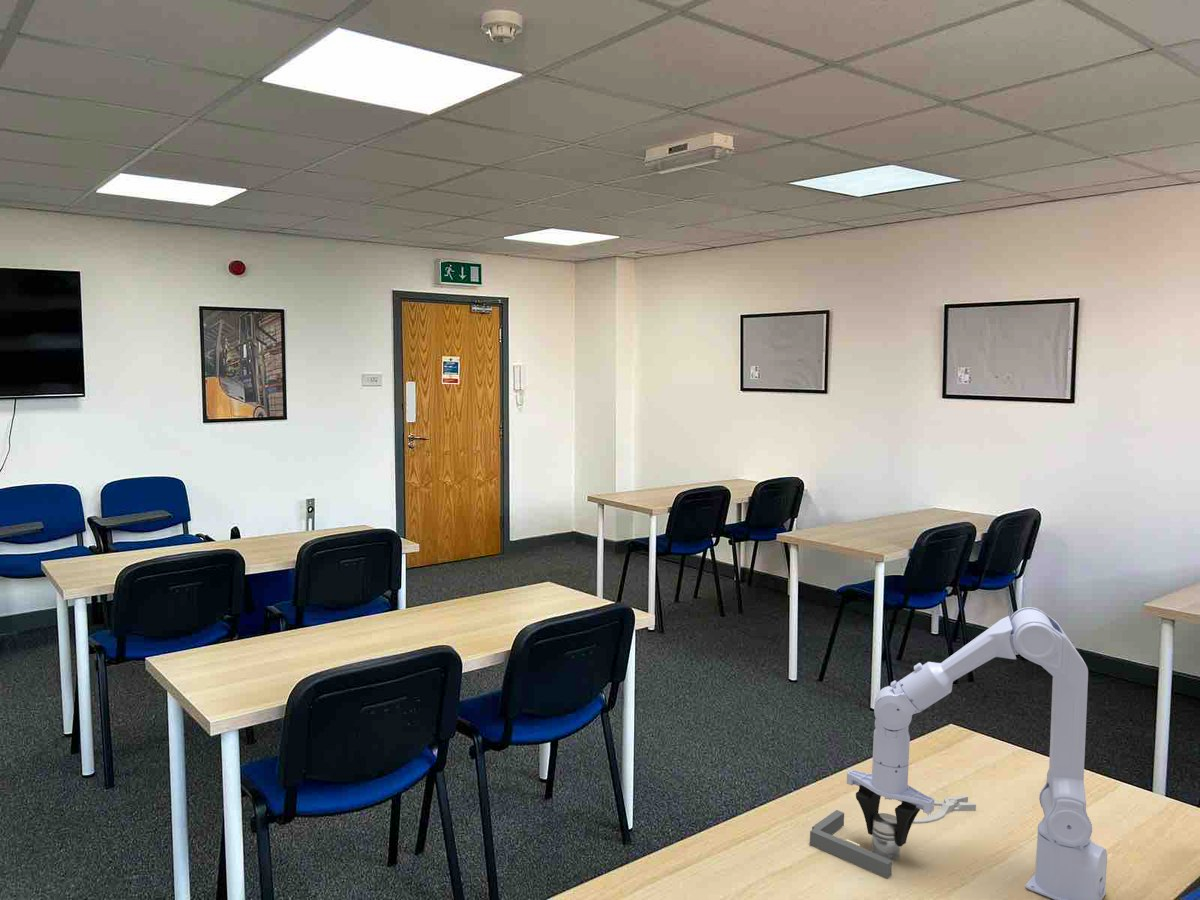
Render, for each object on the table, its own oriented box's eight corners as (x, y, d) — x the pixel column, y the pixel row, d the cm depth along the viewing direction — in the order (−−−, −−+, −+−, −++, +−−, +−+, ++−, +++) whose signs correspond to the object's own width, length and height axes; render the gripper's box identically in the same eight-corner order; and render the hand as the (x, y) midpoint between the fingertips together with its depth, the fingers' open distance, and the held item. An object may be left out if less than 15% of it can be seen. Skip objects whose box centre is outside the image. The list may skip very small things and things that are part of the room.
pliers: (884, 791, 163) (956, 787, 165) (883, 799, 163) (956, 795, 165) (910, 817, 153) (987, 812, 155) (909, 826, 153) (986, 821, 155)
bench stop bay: (914, 854, 143) (915, 840, 143) (887, 878, 136) (887, 863, 136) (836, 822, 153) (836, 809, 153) (807, 843, 146) (807, 829, 146)
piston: (904, 854, 143) (906, 820, 143) (891, 864, 140) (892, 829, 139) (879, 843, 146) (881, 810, 146) (865, 853, 143) (867, 819, 143)
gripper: (943, 766, 140) (939, 846, 141) (861, 739, 150) (858, 814, 151) (925, 780, 135) (921, 862, 136) (841, 751, 145) (838, 828, 146)
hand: (886, 838), depth 143 cm, fingers closed on piston, 4 cm apart
